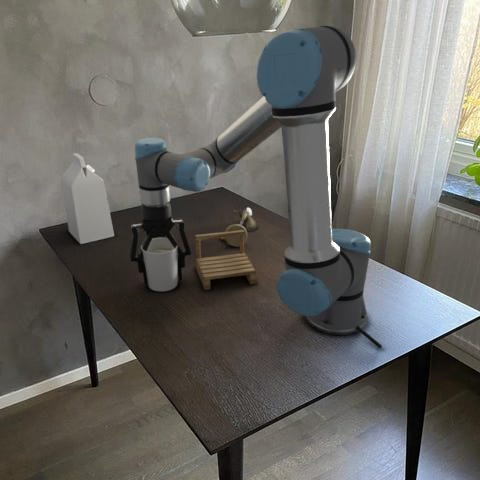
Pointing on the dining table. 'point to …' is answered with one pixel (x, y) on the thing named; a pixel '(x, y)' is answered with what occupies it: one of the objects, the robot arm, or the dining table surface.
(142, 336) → the dining table surface
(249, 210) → the eagle figurine
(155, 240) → the candle holder
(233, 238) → the mug
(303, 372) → the dining table surface
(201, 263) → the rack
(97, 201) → the milk
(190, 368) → the dining table surface
